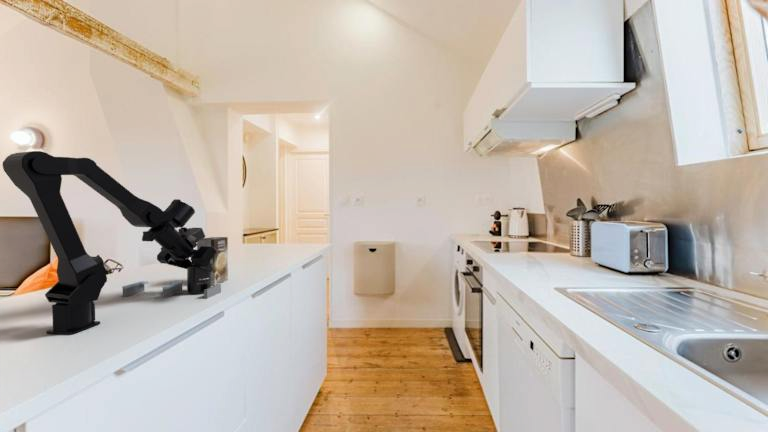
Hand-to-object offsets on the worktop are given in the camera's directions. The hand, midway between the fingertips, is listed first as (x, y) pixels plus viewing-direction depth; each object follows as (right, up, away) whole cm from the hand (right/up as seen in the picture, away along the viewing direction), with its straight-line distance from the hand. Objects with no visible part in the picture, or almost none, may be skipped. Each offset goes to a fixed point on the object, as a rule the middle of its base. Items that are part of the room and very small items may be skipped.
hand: (203, 270), depth 105 cm
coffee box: (-3, -7, +11) cm, 13 cm away
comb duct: (-7, -7, -4) cm, 11 cm away
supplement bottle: (0, -7, -1) cm, 7 cm away
